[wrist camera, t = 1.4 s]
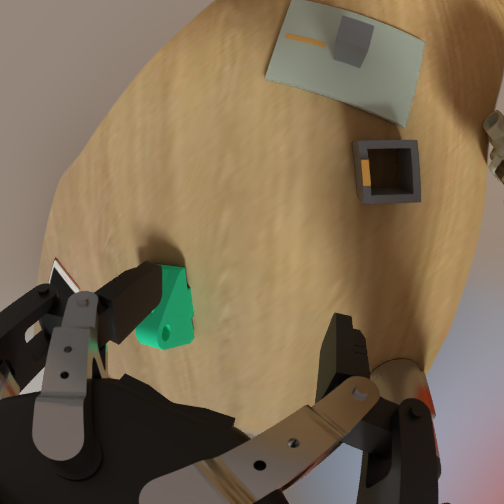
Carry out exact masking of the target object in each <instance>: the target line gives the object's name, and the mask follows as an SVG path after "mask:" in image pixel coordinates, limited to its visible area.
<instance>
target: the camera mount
mask: <svg viewBox="0 0 504 504" xmlns="http://www.w3.org/2000/svg"><path fill="white" fill-rule="evenodd" d="M158 265H161V264H158ZM161 267H162V299H161V301H160V303H159V305H158V306H157V307H156V308H155V309H154V310H153V311H152V312H151V313H150V314H149V315H148V316H147V317H146V318H145V319H144V320H143V321H142V322H141V323H140V324H139V325H138V326H137V327H136V337H137V339H138V341H139V342H140V343H142V344H145V345H149V346H152V347H156V348H159V349H163V350H165V349H169V348H173V347H177V346H181V345H185V344H189V343H191V342H192V340H193V339H194V332H193V325H192V319H191V318H192V317H193V316H194V312H193V304H192V297H191V289H190V288H187V281H186V273H185V267H177V266H169V265H161Z"/></svg>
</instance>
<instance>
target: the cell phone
mask: <svg viewBox="0 0 504 504" xmlns="http://www.w3.org/2000/svg"><path fill="white" fill-rule="evenodd" d="M48 284H53V285H55V286H56V288H57V292H58V296H62V297H66V298H69V297H70V296H71V295H73V294H74V293H77V292H80V291H81V290H80V288H79V286H78V285H77V284H76V282H75V281H74V280H73V279H72V278H71V276H70V275H69V274H68V272H67V271H66V270H65V269H64V267H63V266H62V265H61V263H60V262H59V261H58V260H57V259H56V260H55V261H54V264H53V267H52V271H51V275H50V279H49V283H48Z"/></svg>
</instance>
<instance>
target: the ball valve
mask: <svg viewBox="0 0 504 504" xmlns="http://www.w3.org/2000/svg"><path fill="white" fill-rule="evenodd" d="M483 128H484V129H485V131H486V132H487V133H488V136H487V137H488V140H489V142H490V143H491V144H492V145H493V147H494V148H493V150H492V152H491V154H490V157H491V160H492V162H491V164H490V165H489V169H490V171H491V172H492V174H493V175H494V176H495V177H496V178H497V179H498V180H499V181H500V182H502V183H503V184H504V116H503V114H502V113H501V112H499V111H498V110H496V111H494V112H492V113H491V114H489V116H488V117H487V118H486V119H485V121H484V124H483Z"/></svg>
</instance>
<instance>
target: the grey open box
mask: <svg viewBox="0 0 504 504" xmlns="http://www.w3.org/2000/svg"><path fill="white" fill-rule="evenodd" d="M352 148H353V156H354V165H355V175H356V187H357V196H358V198H359V199H360V200H361V202H362V203H363V204H383V203H411V202H421V183H420V165H419V153H418V143H417V140H363V141H355V142H352ZM390 148H397V153H398V164H399V178H400V187H391V188H371V181H370V169H369V160H368V151H367V149H390Z"/></svg>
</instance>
